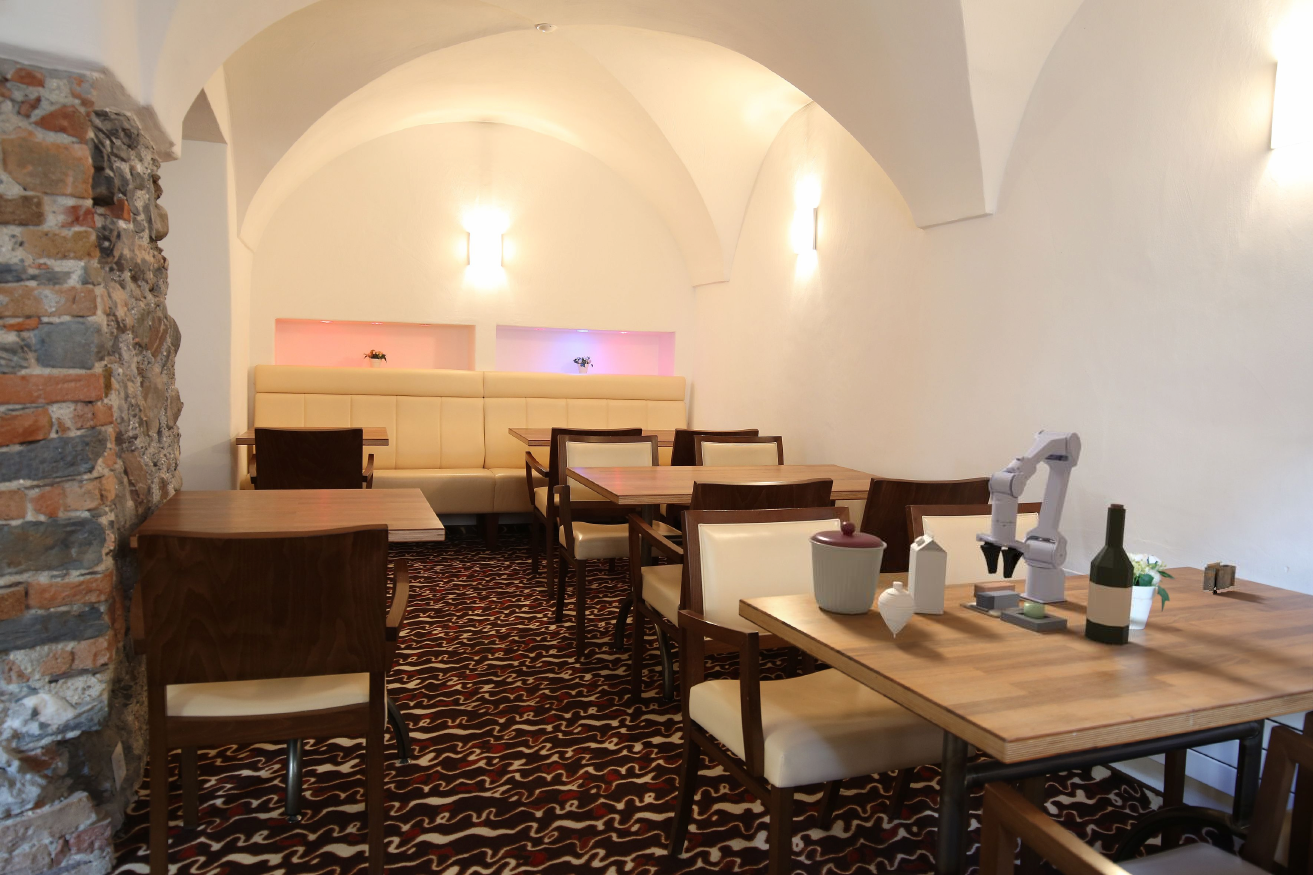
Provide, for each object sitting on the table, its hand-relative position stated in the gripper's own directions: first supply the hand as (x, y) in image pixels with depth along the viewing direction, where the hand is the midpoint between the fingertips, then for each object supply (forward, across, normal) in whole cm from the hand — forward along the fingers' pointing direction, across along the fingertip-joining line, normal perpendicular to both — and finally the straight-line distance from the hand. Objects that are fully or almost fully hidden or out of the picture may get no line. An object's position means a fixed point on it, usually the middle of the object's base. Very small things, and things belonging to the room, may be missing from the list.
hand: (999, 575), depth 200 cm
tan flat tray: (+8, 0, 0) cm, 8 cm away
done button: (+7, +12, -2) cm, 14 cm away
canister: (+9, -12, -38) cm, 41 cm away
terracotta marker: (+8, -9, +9) cm, 15 cm away
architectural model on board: (+9, +6, +81) cm, 82 cm away
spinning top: (+9, +10, -42) cm, 44 cm away
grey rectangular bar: (+8, 0, 0) cm, 8 cm away
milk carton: (+9, -5, -19) cm, 21 cm away
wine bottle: (+9, +26, +4) cm, 28 cm away
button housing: (+8, +12, -2) cm, 15 cm away
